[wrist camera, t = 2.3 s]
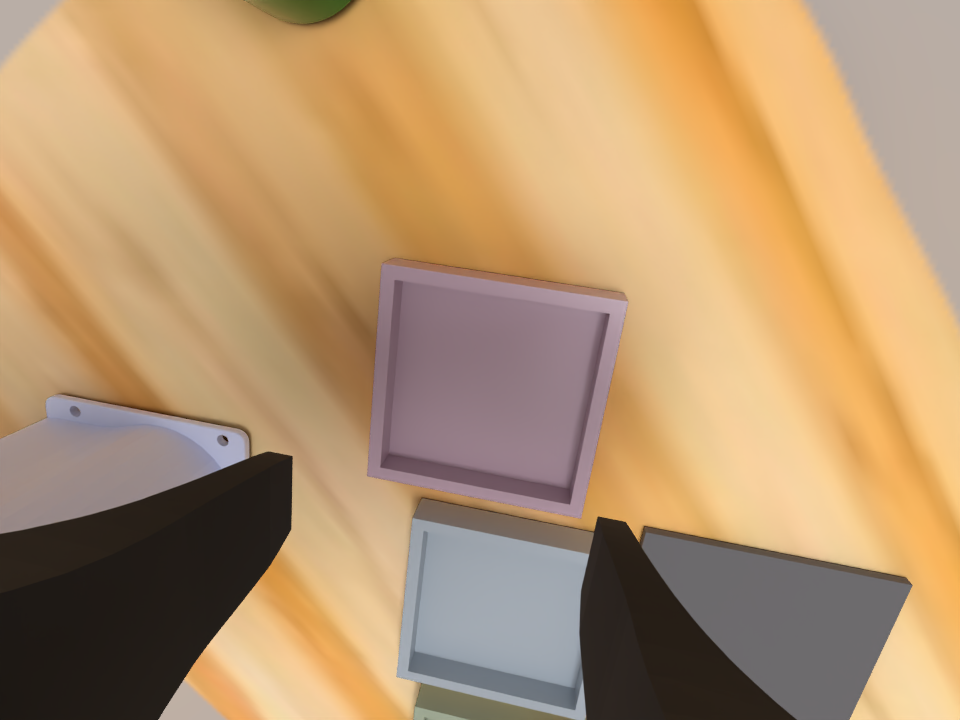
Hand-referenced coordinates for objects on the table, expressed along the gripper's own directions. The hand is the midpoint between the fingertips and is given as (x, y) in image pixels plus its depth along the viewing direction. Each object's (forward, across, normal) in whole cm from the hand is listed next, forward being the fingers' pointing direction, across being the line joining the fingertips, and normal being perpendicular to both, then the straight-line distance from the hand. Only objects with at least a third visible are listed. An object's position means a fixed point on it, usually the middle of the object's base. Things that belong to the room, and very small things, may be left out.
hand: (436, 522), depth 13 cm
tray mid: (+9, -2, +10) cm, 14 cm away
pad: (+9, -12, +10) cm, 18 cm away
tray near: (+9, 0, 0) cm, 9 cm away
